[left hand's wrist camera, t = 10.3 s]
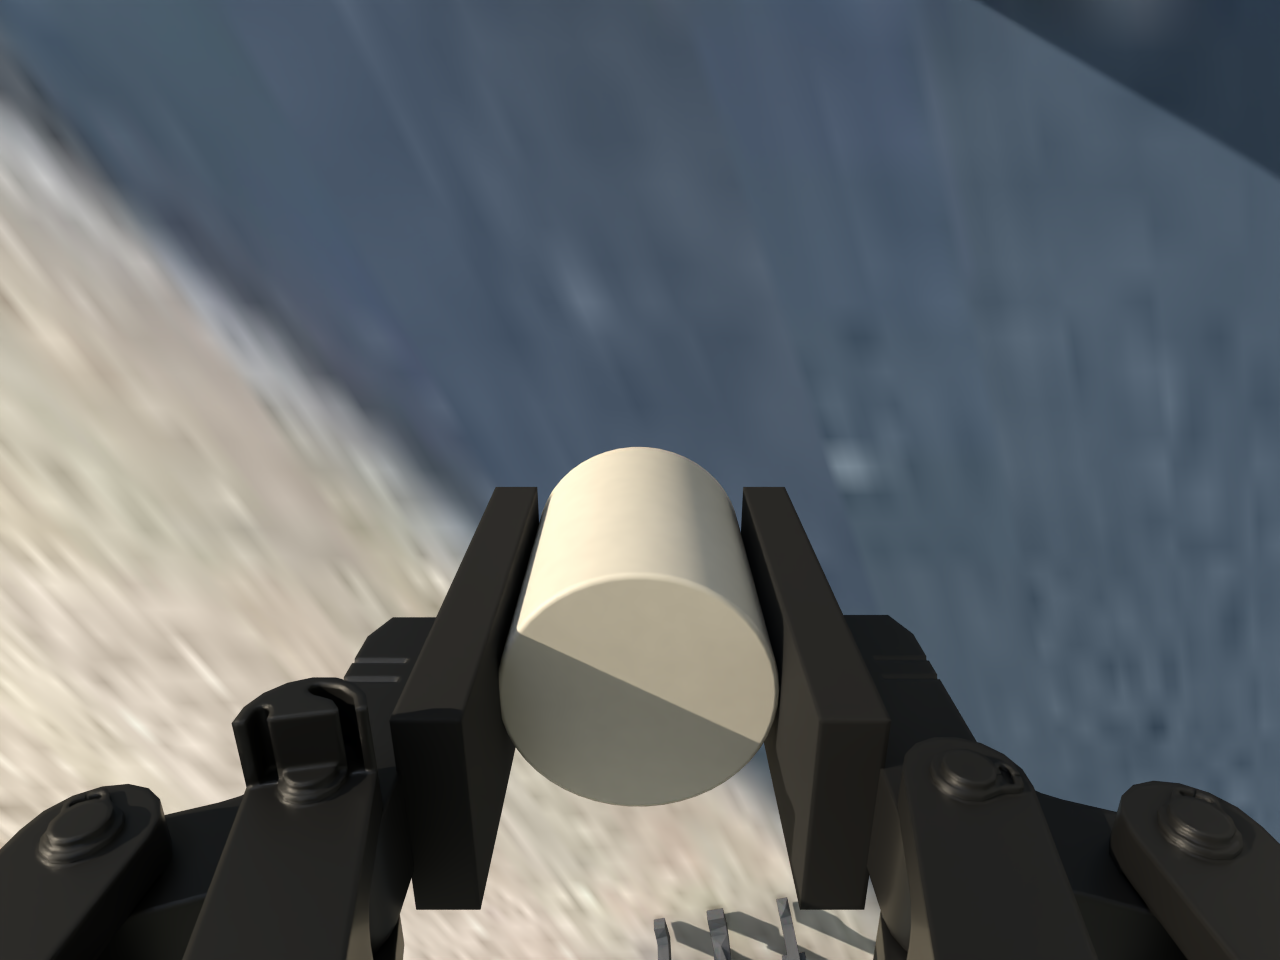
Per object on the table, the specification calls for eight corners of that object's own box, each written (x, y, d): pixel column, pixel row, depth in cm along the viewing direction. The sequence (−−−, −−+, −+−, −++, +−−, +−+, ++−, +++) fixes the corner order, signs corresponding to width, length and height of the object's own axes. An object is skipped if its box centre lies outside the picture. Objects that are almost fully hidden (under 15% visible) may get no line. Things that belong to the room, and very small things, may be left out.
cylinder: (507, 579, 15) (453, 750, 11) (591, 411, 14) (568, 527, 9) (681, 652, 16) (696, 843, 11) (775, 498, 15) (834, 646, 10)
